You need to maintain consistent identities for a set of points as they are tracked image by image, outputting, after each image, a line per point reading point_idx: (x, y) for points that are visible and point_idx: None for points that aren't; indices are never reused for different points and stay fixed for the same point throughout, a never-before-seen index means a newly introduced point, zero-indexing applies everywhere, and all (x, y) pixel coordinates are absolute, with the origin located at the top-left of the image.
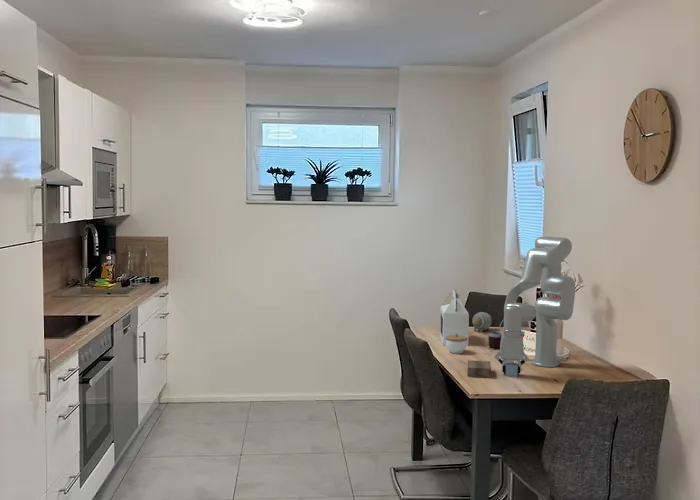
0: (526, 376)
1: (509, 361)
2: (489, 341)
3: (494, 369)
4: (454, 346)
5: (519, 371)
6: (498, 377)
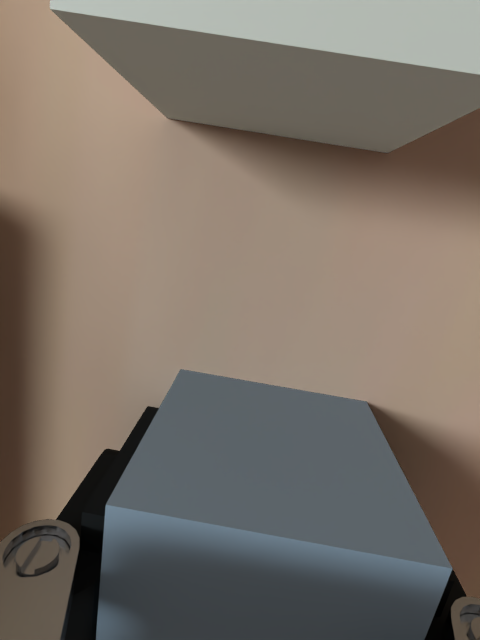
0: (474, 535)
1: (330, 85)
2: None
3: (17, 117)
4: None
5: None
6: None
